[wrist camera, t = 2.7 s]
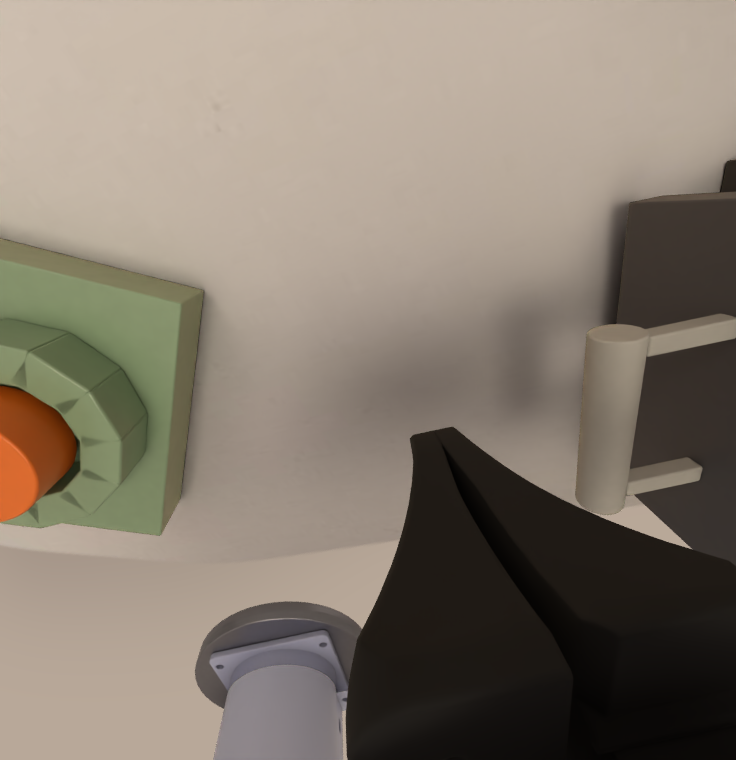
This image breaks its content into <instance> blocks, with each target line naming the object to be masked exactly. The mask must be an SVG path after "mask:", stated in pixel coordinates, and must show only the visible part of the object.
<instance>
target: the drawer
mask: <svg viewBox="0 0 736 760" xmlns="http://www.w3.org/2000/svg"><path fill="white" fill-rule="evenodd" d="M630 495H635V496H636V497H637V498H638V499H639V500H640V501H641V502H642V503H643V504H644V505H645V506H647V507H648V508H649V509H650V510H651V511H652V512H653V513H654V514H655V515H656V516H657V517H658V518H660V519H661V520H662V521H663V522H664V523H665V524H666V525H667V526H668V527H669V528H670V529H672V530H673V532H674V533H676V534H677V535H678V536H679V537H680V538H681V539H682V540H683V541H684V542H685V543H686V544H688V546H690V547H691V548H692V549H693V550H695V551H699V552H702V553H705V554H709V555H712V556H715V557H718V558H722V559H725V560H728V561H730V562H731V563H733V564H734V565H735V566H736V192H720V193H702V194H684V195H666V196H658V197H654V198H649V199H644V200H639V201H635V202H631V203H630V204H629V210H628V219H627V229H626V238H625V248H624V257H623V266H622V276H621V285H620V295H619V304H618V313H617V323H616V324H611V325H603V326H598V327H595V328H592V329H590V330H589V331H588V333H587V337H586V351H585V365H584V379H583V393H582V407H581V421H580V435H579V449H578V463H577V477H576V491H575V497H576V499H577V501H578V502H579V504H580V505H581V506H582V507H584V508H585V509H587V510H589V511H591V512H593V513H597V514H602V515H612V514H616V513H618V512H620V511H621V510H622V509H623V507H624V503H625V496H630Z"/></svg>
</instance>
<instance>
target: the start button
mask: <svg viewBox="0 0 736 760" xmlns="http://www.w3.org/2000/svg"><path fill="white" fill-rule="evenodd" d="M76 453H77V445H76V440H75V436H74V434H73V431H72V430H71V428H70V427H69V426H68V424H67V423H66V421H65V420H64V419H63V417H62V416H61V414H60V413H59V412H58V411H57V410H55V409H54V408H52V407H51V406H49V405H47V404H46V403H44V402H42V401H41V400H39V399H37V398H36V397H34V396H33V395H31V394H29V393H27V392H25V391H22V390H19V389H16V388H12V387H8V386H1V385H0V522H3V521H7V520H10V519H13V518H16V517H18V516H20V515H22V514H23V513H25V512H26V511H28V510H29V509H30V508H31V507H32V506H33V505H34V504H35V503H36V502H37V501H38V500H39V499H40V498H41V497H42V496H43V495H44V494H45V493H46V492H47V491H48V490H49V489H50V488H51V487H52V486H53V485H54V484H55V483H57V482H58V481H59V480H60V479H61V478H62V477H63V476H64V475H65V474H66V473H67V472H68V471H69V470H70V468H71V467H72V465H73V463H74V461H75V457H76Z"/></svg>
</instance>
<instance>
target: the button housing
mask: <svg viewBox="0 0 736 760" xmlns="http://www.w3.org/2000/svg"><path fill="white" fill-rule="evenodd" d="M203 293H204V292H203V290H200V289H196V288H192V287H188V286H184V285H180V284H177V283H173V282H169V281H165V280H161V279H157V278H153V277H149V276H145V275H141V274H137V273H134V272H130V271H126V270H122V269H118V268H114V267H110V266H106V265H102V264H98V263H94V262H91V261H87V260H83V259H79V258H75V257H71V256H67V255H63V254H59V253H55V252H51V251H47V250H44V249H40V248H36V247H32V246H28V245H24V244H20V243H16V242H12V241H8V240H4V239H1V238H0V385H1V386H8V387H12V388H16V389H19V390H22V391H25V392H27V393H29V394H31V395H33V396H34V397H36V398H37V399H39V400H41V401H42V402H44V403H46V404H47V405H49V406H51V407H52V408H54V409H55V410H57V411H58V412H59V413H60V414H61V416H62V417H63V419H64V420H65V421H66V423H67V424H68V426H69V427H70V428H71V430H72V431H73V434H74V436H75V440H76V445H77V453H76V457H75V461H74V463H73V465H72V467H71V468H70V470H69V471H68V472H67V473H66V474H65V475H64V476H63V477H62V478H61V479H60V480H59V481H58V482H57V483H55V484H54V485H53V486H52V487H51V488H50V489H49V490H48V491H47V492H46V493H45V494H44V495H43V496H42V497H41V498H40V499H39V500H38V501H37V502H36V503H35V504H34V505H33V506H32V507H31V508H30V509H29V510H28V511H26V512H25V513H23V514H22V515H20V516H18V517H16V518H13V519H10V520H7V521H3V522H0V523H2V524H10V525H18V526H26V527H35V528H44V527H48V526H52V525H56V524H60V523H64V524H72V525H80V526H88V527H95V528H103V529H111V530H119V531H127V532H135V533H142V534H150V535H158V536H160V535H161V534H162V532H163V530H164V528H165V527H166V525H167V523H168V521H169V519H170V517H171V515H172V513H173V512H174V510H175V508H176V506H177V504H178V502H179V500H180V497H181V488H182V479H183V471H184V462H185V453H186V444H187V435H188V426H189V417H190V408H191V400H192V391H193V382H194V373H195V364H196V355H197V346H198V338H199V329H200V320H201V311H202V302H203Z"/></svg>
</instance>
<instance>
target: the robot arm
mask: <svg viewBox="0 0 736 760" xmlns="http://www.w3.org/2000/svg"><path fill="white" fill-rule="evenodd" d="M410 443H411V449H412V454H413V477H412V487H411V493H410V500H409V506H408V510H407V515H406V519H405V523H404V527H403V531H402V535H401V538H400V541H399V544H398V548H397V551H396V554H395V557H394V560H393V562H392V565H391V568H390V570H389V572H388V575H387V578H386V580H385V582H384V585H383V587H382V590H381V592H380V595H379V597H378V599H377V601H376V603H375V605H374V607H373V609H372V611H371V613H370V615H369V617H368V619H367V621H366V623H365V625H364V627H363V629H362V631H361V633H360V635H359V637H358V639H357V643H356V648H355V653H354V658H353V663H352V668H351V674H350V679H349V684H348V682H347V679H346V676H345V674H344V671H343V669H342V666H341V664H340V661H339V658H338V656H337V653H336V651H335V648H334V646H333V643H332V640H331V638H330V635H329V633H328V632H327V631H325V630H318V631H313V632H309V633H304V634H299V635H295V636H290V637H285V638H280V639H276V640H271V641H266V642H262V643H257V644H252V645H248V646H243V647H238V648H233V649H229V650H224V651H219V652H215V653H213V654H212V655H211V657H210V661H209V663H210V665H211V666H212V668H213V669H214V671H215V672H216V674H217V675H218V677H219V678H220V680H221V681H222V683H223V684H224V686H225V687H226V689H227V690H228V694H227V698H226V703H225V708H224V712H223V717H222V722H221V726H220V731H219V736H218V740H217V744H216V749H215V754H214V759H213V760H343V729H342V711H344V710H346V743H347V758H348V760H736V566H735V565H734V564H733V563H731V562H730V561H728V560H725V559H722V558H718V557H715V556H712V555H709V554H705V553H702V552H699V551H695V550H692V549H689V548H685V547H682V546H679V545H676V544H672V543H669V542H666V541H663V540H660V539H657V538H654V537H651V536H648V535H646V534H643V533H640V532H638V531H635V530H632V529H629V528H627V527H624V526H621V525H619V524H616V523H614V522H611V521H609V520H606V519H604V518H601V517H599V516H597V515H595V514H592V513H590V512H588V511H586V510H583V509H581V508H579V507H577V506H574V505H572V504H570V503H568V502H566V501H564V500H562V499H560V498H558V497H556V496H554V495H552V494H551V493H549V492H547V491H545V490H543V489H541V488H539V487H537V486H536V485H534V484H532V483H530V482H529V481H527V480H525V479H524V478H522V477H521V476H519V475H517V474H516V473H514V472H513V471H511V470H510V469H508V468H507V467H505V466H504V465H502V464H501V463H500V462H498V461H497V460H495V459H494V458H493V457H491V456H490V455H488V454H487V453H486V452H484V451H483V450H482V449H480V448H479V447H478V446H476V445H475V444H474V443H473V442H471V441H470V440H469V439H468V438H466V437H465V436H464V435H463V434H461V433H460V432H459V431H458V430H457V429H455V428H454V427H448V428H443V429H439V430H434V431H429V432H425V433H420V434H415V435H413V436H412V437H411V438H410Z"/></svg>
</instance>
